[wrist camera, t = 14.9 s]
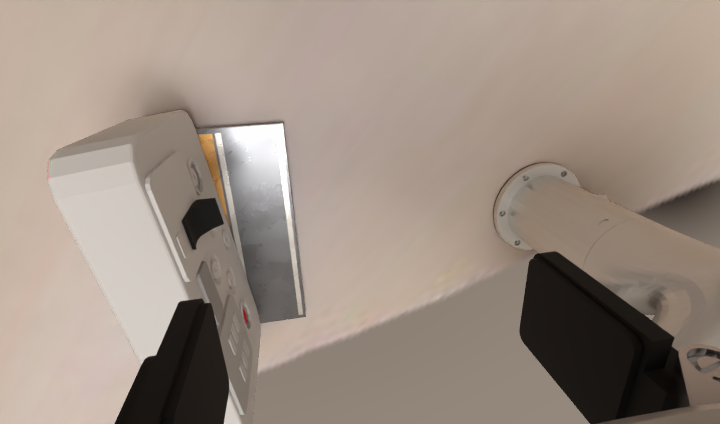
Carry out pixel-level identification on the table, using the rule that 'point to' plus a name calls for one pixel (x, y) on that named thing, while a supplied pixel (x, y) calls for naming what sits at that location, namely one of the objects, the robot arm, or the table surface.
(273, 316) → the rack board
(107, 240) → the rounded white slab
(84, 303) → the table surface
